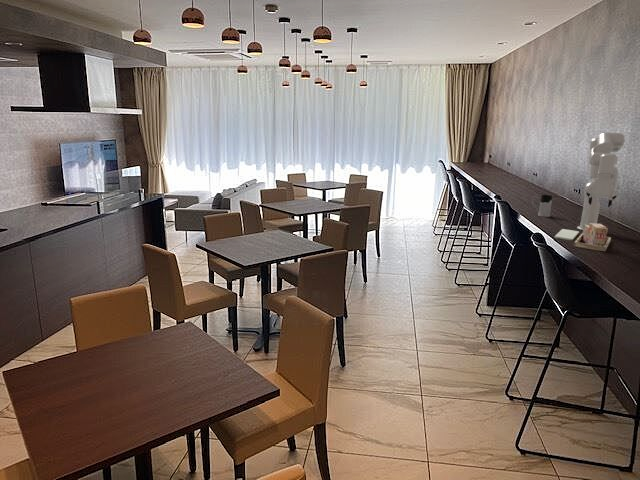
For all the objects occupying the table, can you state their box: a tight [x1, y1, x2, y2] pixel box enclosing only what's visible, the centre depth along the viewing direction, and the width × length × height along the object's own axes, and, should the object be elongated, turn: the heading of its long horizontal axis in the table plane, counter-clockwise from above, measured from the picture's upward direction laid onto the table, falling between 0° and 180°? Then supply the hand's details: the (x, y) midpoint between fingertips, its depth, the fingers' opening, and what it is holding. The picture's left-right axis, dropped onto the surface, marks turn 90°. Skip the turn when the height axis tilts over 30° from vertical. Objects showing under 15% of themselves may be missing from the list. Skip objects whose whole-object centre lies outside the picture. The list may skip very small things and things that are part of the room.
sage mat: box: [554, 228, 580, 241], centre depth 315 cm, size 26×10×1 cm, turn 145°
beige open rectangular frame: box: [573, 232, 612, 252], centre depth 296 cm, size 29×16×2 cm, turn 145°
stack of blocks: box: [581, 223, 609, 246], centre depth 295 cm, size 21×6×12 cm, turn 169°
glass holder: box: [531, 194, 553, 218], centre depth 375 cm, size 9×14×15 cm, turn 57°
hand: (599, 205), depth 290 cm, fingers open, 9 cm apart
